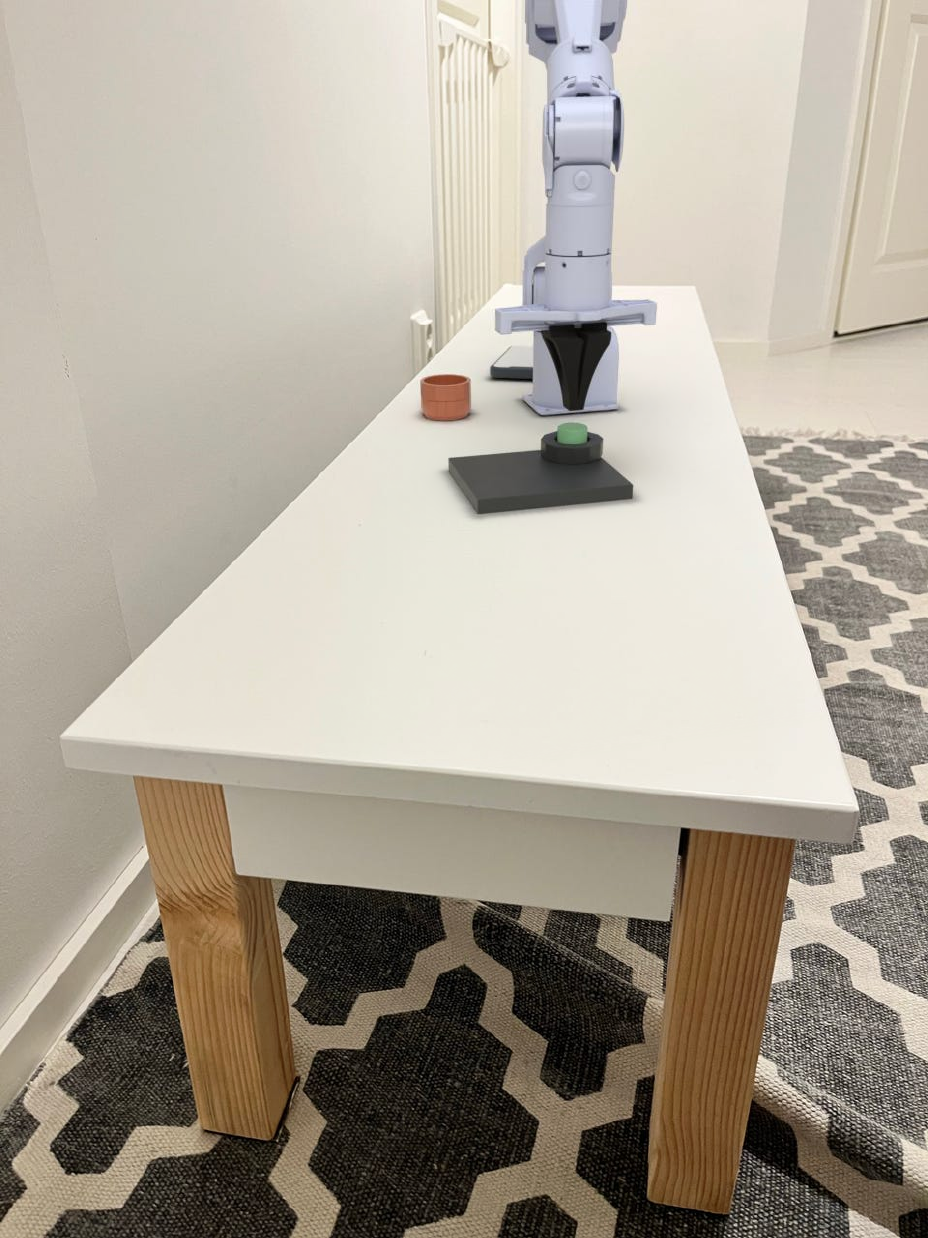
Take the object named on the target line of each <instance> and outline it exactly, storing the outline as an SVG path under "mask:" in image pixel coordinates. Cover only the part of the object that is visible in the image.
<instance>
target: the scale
mask: <svg viewBox="0 0 928 1238" xmlns="http://www.w3.org/2000/svg"><path fill="white" fill-rule="evenodd" d="M557 433H558V430H555V431H552V432H549V433H546V434H544V435H543V436H542V437H541V438H540V449H534V450H533V449H532V450H523V451H521V450H520V451H510V452H501V453H500V452H499V453H488V454H478V455H465V456H455V457H448V459H447V461H448V462H447V463H448V472H449V474H450V476H451V477H452V479H454V482H455V483H456V484H457V486H458V487H459V489H460V490H461V492H462V493H463V495H464V496H465V498H466V499H467V500H468V502H469V503H470V505H471V507H472V508H473V510H474V511H475V512H476V514H477V515H485V514H494V513H504V512H516V511H523V510H524V511H525V510H534V509H543V508H545V509H546V508H555V507H565V506H575V505H585V504H595V503H604V502H605V503H606V502H615V501H623V500H624V501H625V500H633V497H634V495H633V494H634V484H633V483H632V482H631V481H630V480H628V479H627V478H626V477H625V476H624V475H623V474H622V473H621V472H619V471H618V470H617V469H615V468H614V467H613V466H612V465H611V464H610V463H609V462H608V461H606V460H605V459H604V458H603V454H604V437H602V436H601V435H600V434H598V433H594V432H590V431H587V442H586V443H583V444H563V443H559V442H557Z"/></svg>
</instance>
